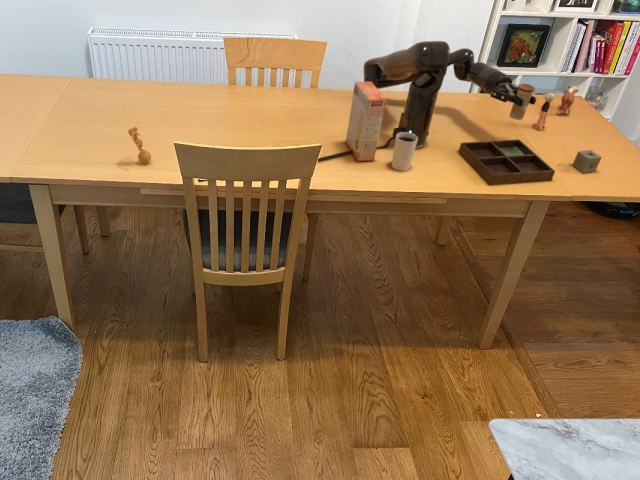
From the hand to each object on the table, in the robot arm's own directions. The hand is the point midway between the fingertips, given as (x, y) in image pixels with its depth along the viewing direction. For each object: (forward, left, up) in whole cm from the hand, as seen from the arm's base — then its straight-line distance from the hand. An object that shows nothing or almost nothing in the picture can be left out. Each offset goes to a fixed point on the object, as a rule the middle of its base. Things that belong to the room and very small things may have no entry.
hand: (528, 102), depth 184 cm
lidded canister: (0, +3, -6) cm, 7 cm away
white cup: (-40, -3, -18) cm, 44 cm away
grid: (-6, -7, -18) cm, 20 cm away
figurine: (-121, +9, -18) cm, 123 cm away
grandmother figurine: (+22, +18, -18) cm, 33 cm away
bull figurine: (+40, +30, -18) cm, 53 cm away
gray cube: (+20, -12, -18) cm, 29 cm away
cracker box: (-50, +8, -18) cm, 54 cm away
